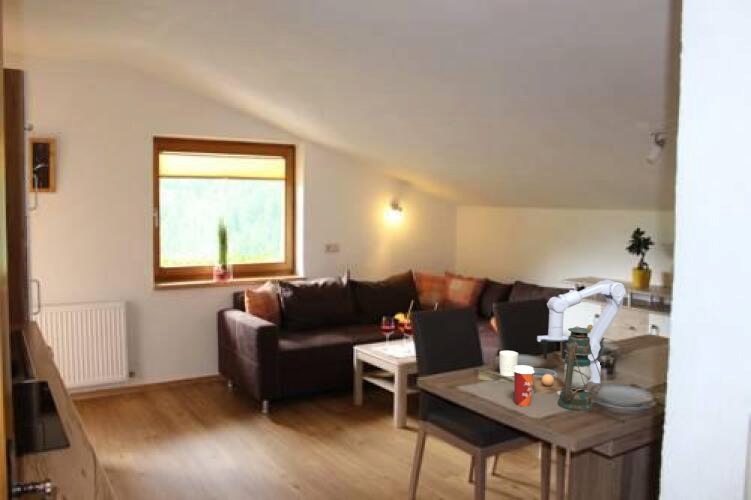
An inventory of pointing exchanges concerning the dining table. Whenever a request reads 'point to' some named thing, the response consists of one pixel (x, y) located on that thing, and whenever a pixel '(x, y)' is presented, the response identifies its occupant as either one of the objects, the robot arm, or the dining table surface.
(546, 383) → the ball
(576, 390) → the lantern
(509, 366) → the white cup
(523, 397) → the paper cup
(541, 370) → the bowl
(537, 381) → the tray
